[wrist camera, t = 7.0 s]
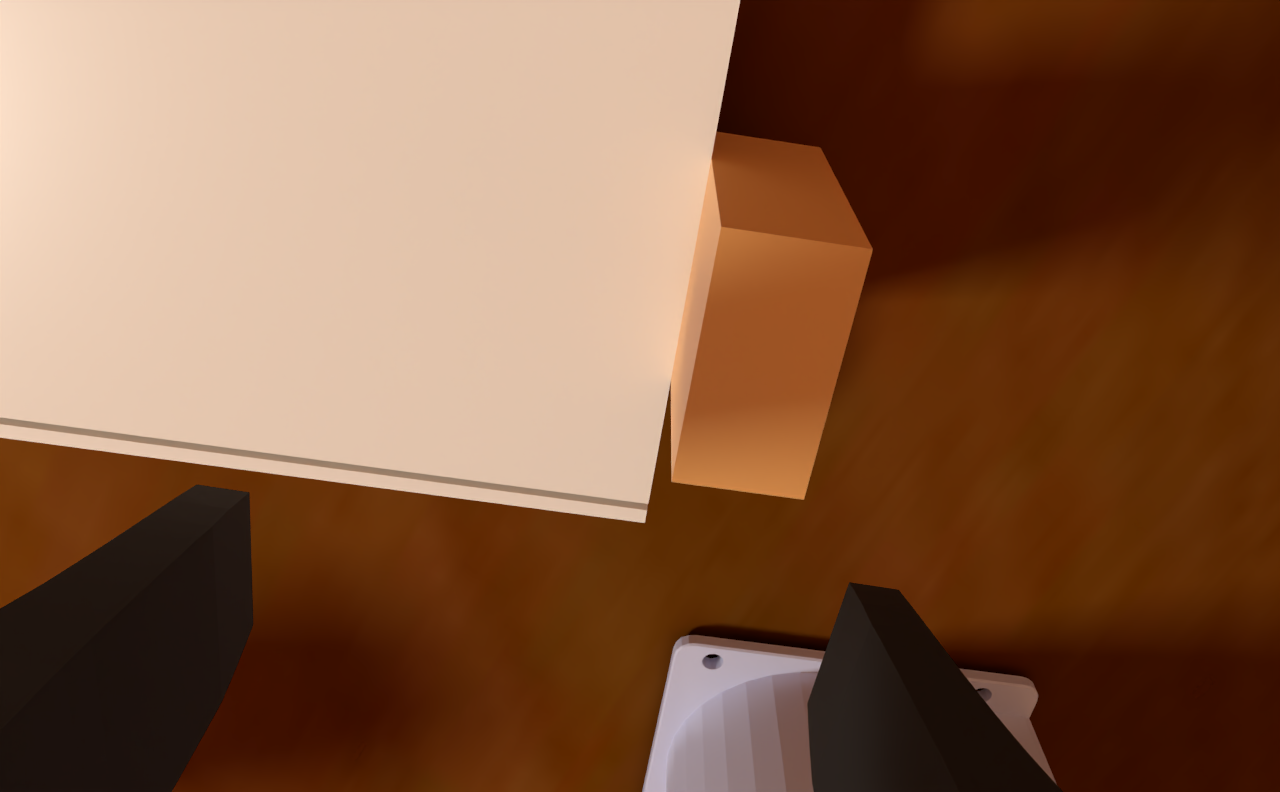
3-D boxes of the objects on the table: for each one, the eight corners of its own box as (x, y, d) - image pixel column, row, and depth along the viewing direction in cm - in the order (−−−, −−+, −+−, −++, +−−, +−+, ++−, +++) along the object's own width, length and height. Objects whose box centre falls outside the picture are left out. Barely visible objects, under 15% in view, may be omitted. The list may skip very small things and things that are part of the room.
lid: (866, -49, 16) (944, -9, 11) (740, 483, 21) (760, 654, 16) (-90, -205, 15) (-404, -226, 11) (19, 386, 20) (-164, 537, 16)
